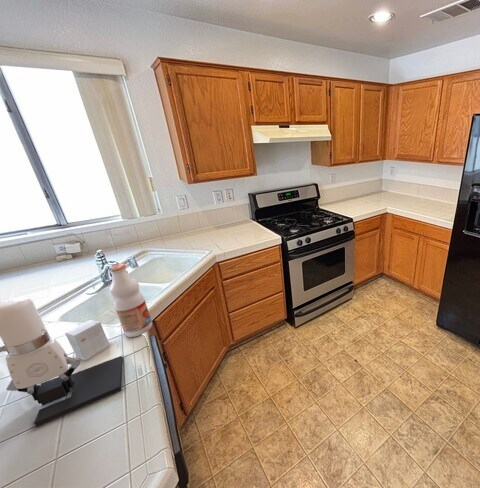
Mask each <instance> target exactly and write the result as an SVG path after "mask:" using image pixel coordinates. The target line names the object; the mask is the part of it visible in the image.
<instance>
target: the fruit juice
mask: <svg viewBox="0 0 480 488" xmlns="http://www.w3.org/2000/svg"><path fill="white" fill-rule="evenodd" d="M108 270H109V273H111V277H112V278H111V280H112V281H111V283H110V285H109V288H108V292H109V294H110V296H111V297H112V298H113V306H114V309H115V313H116V315H117V317H118V321H119V323H120V326H121V328H122V331H123V333H124V335H125V336H126V337H129V338H133V337H138V336H141V335H143V334H145V333H147V332H149V331H150V330H151V329H152V327H153V320H152V318H151V315H150V312H149V308H148V306H147V301H146V299H145V297H144V294H143V293H142V291H141V290H140V283H139V281H138V279H136V278H134V277H132V276H131V275H130V274H129V273H128V271H127V265H126V264H125V263H118V264H113V265H112V266H110V267H109V268H108Z"/></svg>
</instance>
